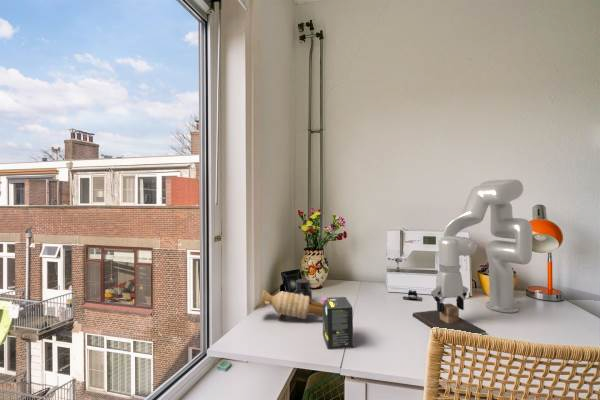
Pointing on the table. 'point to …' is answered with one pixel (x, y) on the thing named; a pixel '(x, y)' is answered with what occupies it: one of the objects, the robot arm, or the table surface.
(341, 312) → the tampon box
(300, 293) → the ink bottle
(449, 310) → the walnut block
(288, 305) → the tan long ribbed piece
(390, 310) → the table surface
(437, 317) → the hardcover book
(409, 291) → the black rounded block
